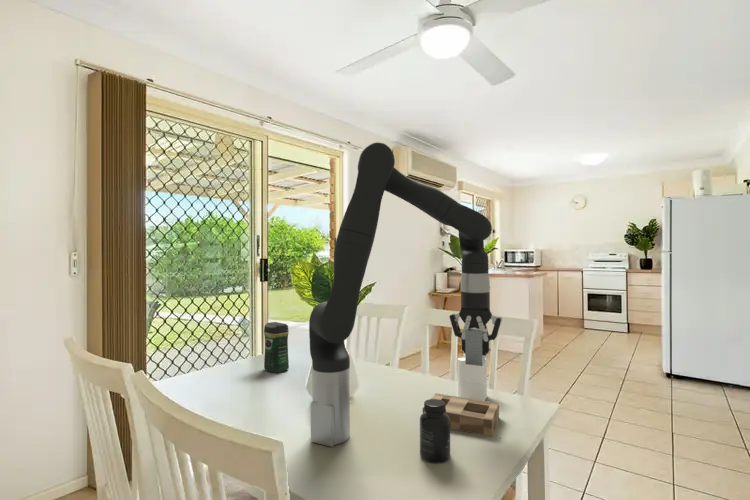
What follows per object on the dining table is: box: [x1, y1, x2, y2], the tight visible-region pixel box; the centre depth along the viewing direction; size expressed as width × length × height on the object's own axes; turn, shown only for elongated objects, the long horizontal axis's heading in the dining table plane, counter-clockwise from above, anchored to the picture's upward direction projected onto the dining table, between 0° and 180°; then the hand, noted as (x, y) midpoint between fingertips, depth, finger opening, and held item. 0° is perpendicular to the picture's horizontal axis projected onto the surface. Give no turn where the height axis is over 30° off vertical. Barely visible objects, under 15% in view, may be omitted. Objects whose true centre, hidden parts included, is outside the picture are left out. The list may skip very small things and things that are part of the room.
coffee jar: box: [263, 321, 290, 373], centre depth 152 cm, size 10×8×19 cm
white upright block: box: [457, 357, 488, 401], centre depth 123 cm, size 9×9×12 cm
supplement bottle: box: [419, 398, 451, 464], centre depth 87 cm, size 7×7×12 cm
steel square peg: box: [464, 328, 486, 366], centre depth 104 cm, size 4×4×9 cm
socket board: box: [422, 393, 500, 437], centre depth 106 cm, size 12×18×4 cm, turn 64°
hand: (475, 353), depth 104 cm, fingers closed on steel square peg, 4 cm apart
